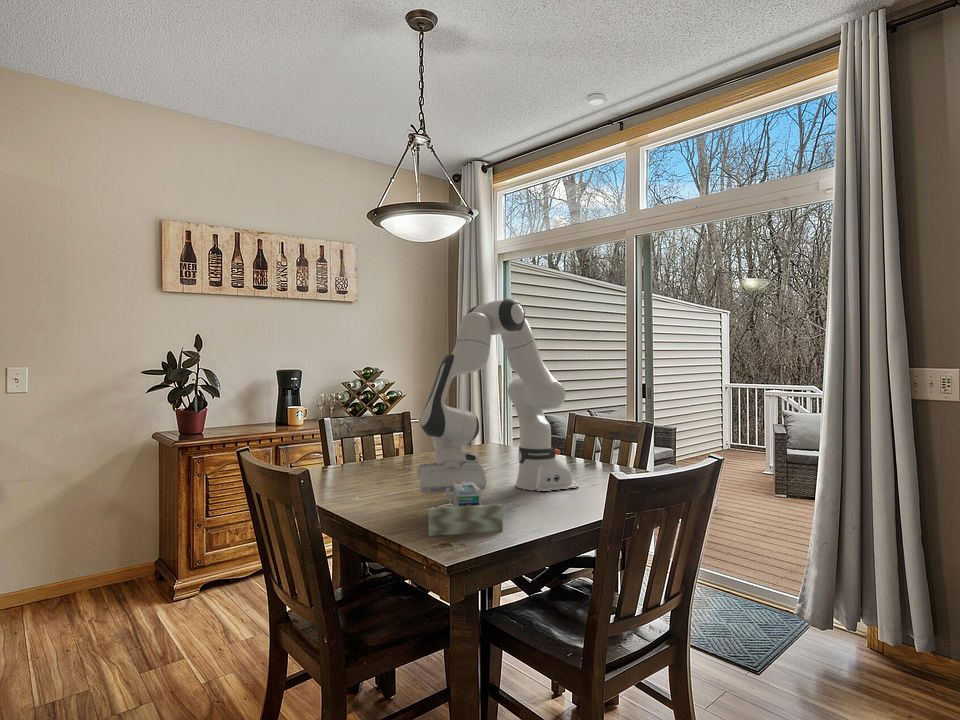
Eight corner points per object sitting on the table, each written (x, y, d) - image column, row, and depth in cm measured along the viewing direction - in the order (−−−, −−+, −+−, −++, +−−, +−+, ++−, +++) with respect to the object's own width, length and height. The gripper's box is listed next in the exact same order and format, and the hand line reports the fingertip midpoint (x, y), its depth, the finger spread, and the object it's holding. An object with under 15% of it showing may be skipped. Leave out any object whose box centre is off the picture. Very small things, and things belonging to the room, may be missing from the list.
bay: (489, 516, 171) (489, 492, 171) (502, 531, 157) (502, 505, 157) (422, 520, 166) (422, 495, 166) (429, 536, 152) (429, 509, 152)
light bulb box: (482, 528, 159) (482, 489, 159) (457, 530, 158) (458, 490, 157) (474, 517, 170) (474, 480, 169) (451, 518, 168) (451, 481, 168)
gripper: (417, 458, 174) (421, 499, 164) (483, 455, 178) (491, 495, 169) (415, 469, 178) (419, 510, 169) (480, 467, 183) (487, 506, 173)
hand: (455, 502), depth 169 cm, fingers closed, pressing on light bulb box
